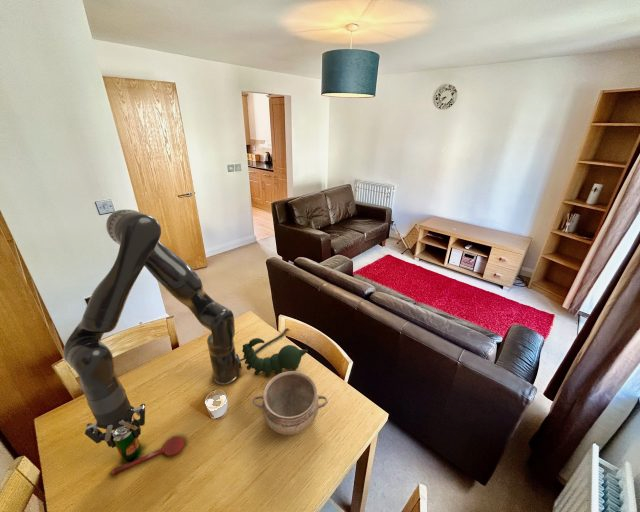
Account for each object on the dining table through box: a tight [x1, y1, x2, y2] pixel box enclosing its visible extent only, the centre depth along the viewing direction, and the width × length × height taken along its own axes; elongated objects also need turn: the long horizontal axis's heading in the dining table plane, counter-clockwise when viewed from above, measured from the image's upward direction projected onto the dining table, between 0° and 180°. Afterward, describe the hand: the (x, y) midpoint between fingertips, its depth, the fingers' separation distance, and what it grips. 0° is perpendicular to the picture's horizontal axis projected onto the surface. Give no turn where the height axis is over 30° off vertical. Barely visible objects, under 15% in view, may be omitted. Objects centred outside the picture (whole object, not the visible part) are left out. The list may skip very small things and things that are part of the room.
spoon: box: [111, 435, 185, 476], centre depth 81 cm, size 18×6×1 cm, turn 119°
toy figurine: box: [241, 337, 309, 378], centre depth 108 cm, size 9×19×25 cm
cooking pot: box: [252, 370, 329, 436], centre depth 92 cm, size 25×19×12 cm
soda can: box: [112, 426, 143, 464], centre depth 80 cm, size 5×5×12 cm
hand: (126, 439), depth 79 cm, fingers closed on soda can, 5 cm apart
